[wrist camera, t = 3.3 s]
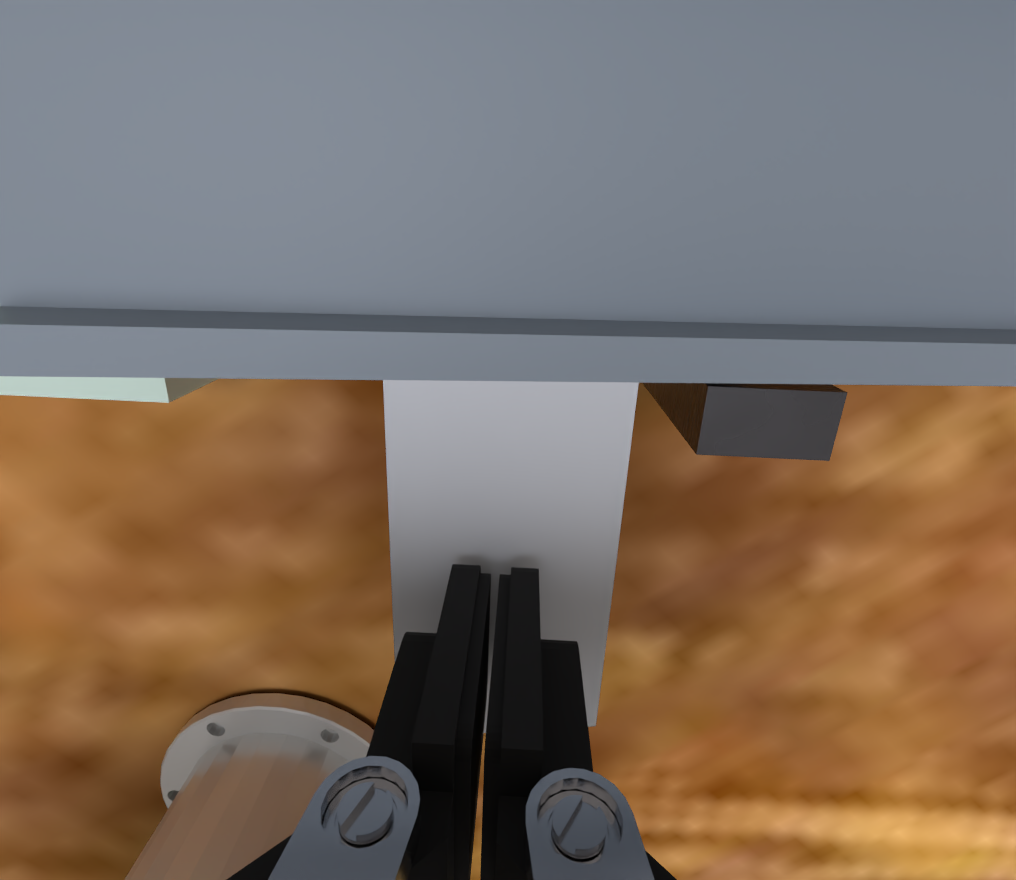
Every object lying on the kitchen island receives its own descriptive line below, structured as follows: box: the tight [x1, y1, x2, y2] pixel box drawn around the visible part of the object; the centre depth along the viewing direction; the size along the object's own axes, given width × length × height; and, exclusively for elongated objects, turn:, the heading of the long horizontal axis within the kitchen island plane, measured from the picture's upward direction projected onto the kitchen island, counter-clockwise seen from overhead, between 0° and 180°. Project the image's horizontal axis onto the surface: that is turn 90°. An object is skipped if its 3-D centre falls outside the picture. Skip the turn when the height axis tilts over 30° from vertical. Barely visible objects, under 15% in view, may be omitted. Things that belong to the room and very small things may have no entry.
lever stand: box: [643, 383, 847, 461], centre depth 15 cm, size 13×5×9 cm, turn 178°
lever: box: [0, 0, 1016, 733], centre depth 13 cm, size 16×30×5 cm, turn 88°
